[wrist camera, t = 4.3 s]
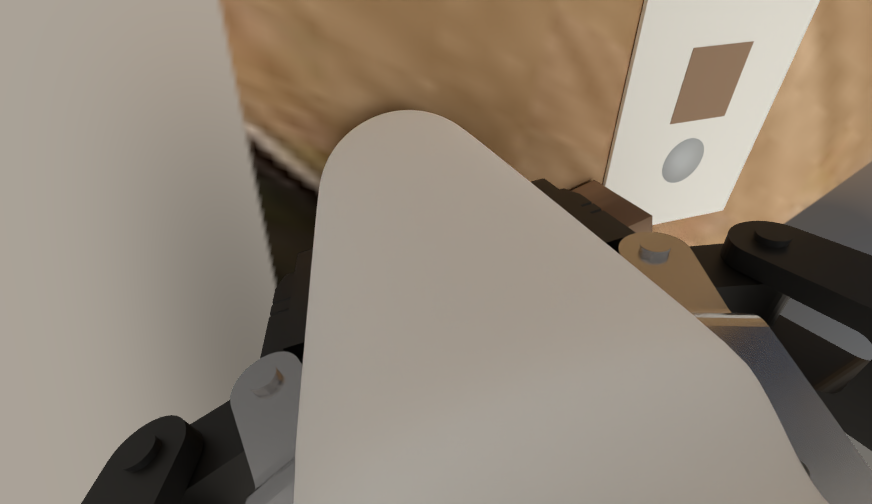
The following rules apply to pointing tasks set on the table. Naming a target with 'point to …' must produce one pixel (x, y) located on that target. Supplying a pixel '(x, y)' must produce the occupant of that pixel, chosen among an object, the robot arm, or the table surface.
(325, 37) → the table surface
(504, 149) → the table surface
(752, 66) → the page
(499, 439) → the can
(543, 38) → the table surface
